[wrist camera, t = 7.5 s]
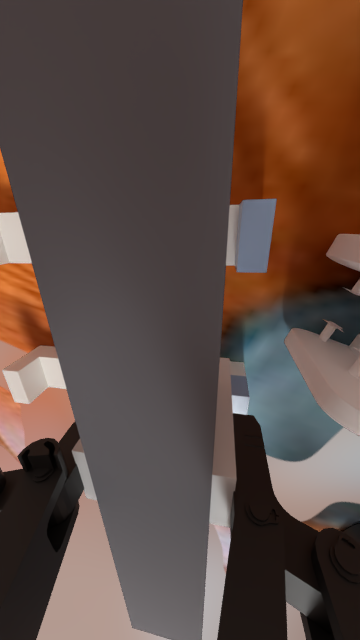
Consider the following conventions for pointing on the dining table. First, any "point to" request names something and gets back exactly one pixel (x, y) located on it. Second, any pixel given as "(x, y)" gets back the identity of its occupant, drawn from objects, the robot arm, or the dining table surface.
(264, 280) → the dining table surface
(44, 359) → the white notched holder
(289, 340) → the cable organizer
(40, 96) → the dark gray bar
